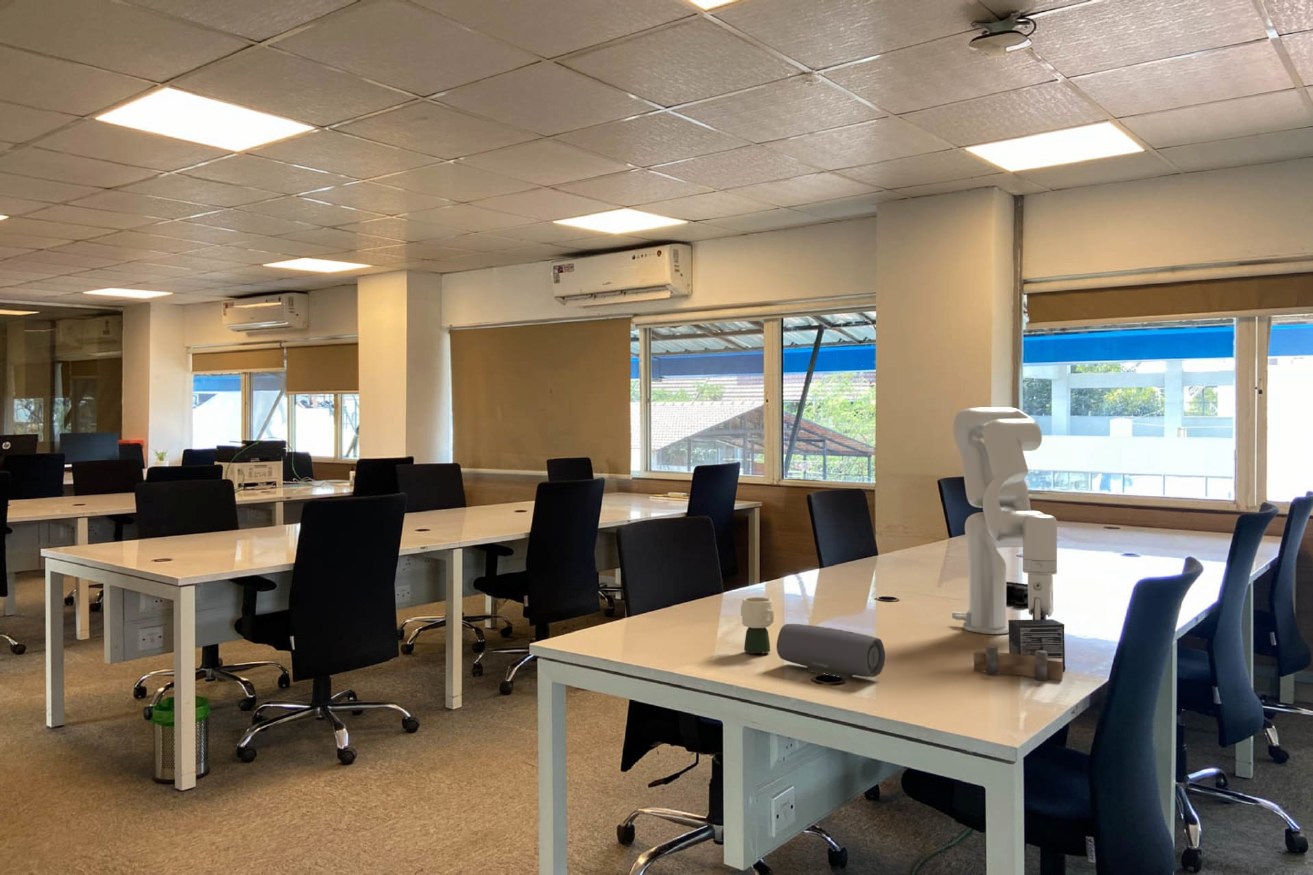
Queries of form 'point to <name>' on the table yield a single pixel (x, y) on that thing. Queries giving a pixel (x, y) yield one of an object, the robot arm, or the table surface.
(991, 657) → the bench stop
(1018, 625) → the small box
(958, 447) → the robot arm
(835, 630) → the bluetooth speaker
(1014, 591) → the end cap
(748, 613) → the character mug
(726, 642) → the table surface
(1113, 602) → the table surface
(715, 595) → the table surface
